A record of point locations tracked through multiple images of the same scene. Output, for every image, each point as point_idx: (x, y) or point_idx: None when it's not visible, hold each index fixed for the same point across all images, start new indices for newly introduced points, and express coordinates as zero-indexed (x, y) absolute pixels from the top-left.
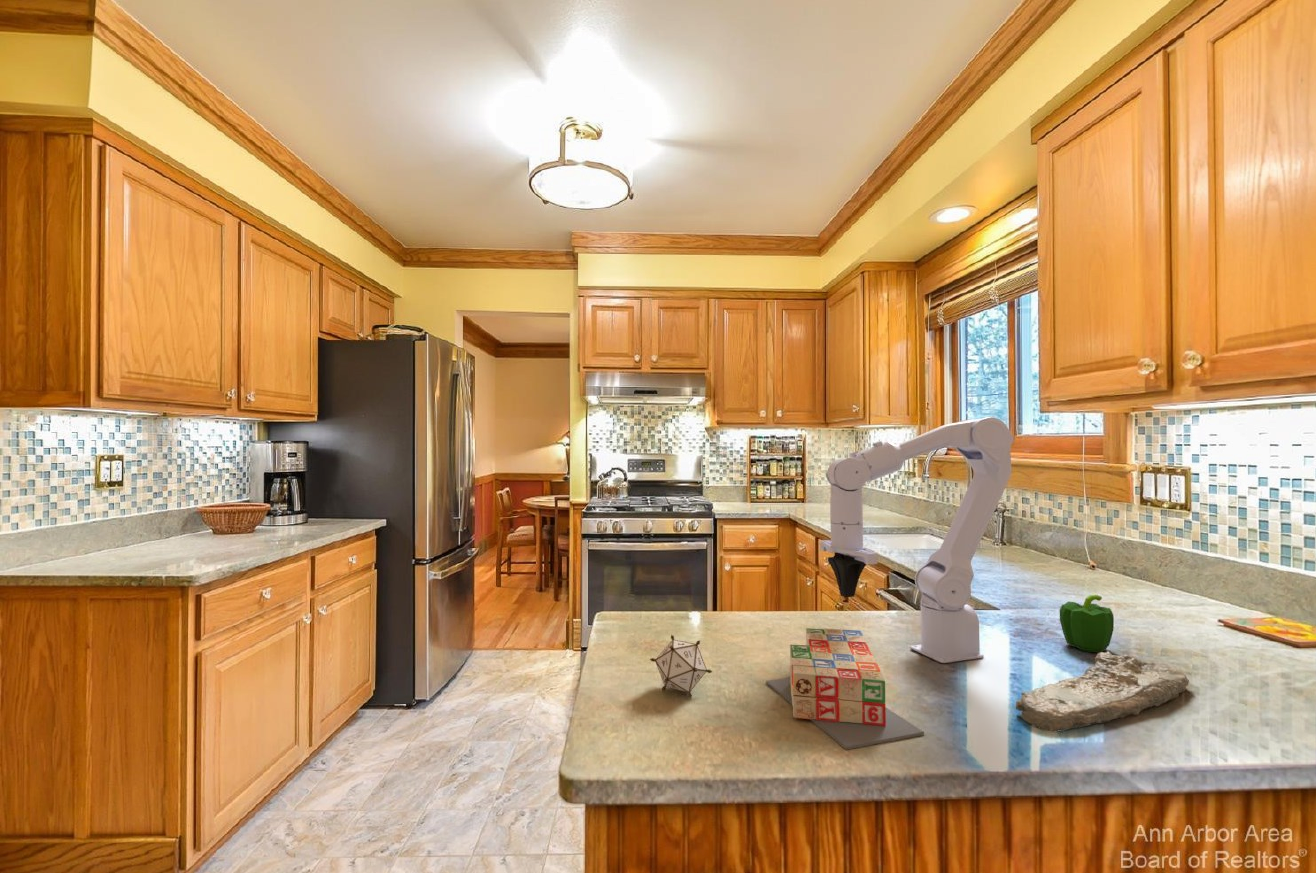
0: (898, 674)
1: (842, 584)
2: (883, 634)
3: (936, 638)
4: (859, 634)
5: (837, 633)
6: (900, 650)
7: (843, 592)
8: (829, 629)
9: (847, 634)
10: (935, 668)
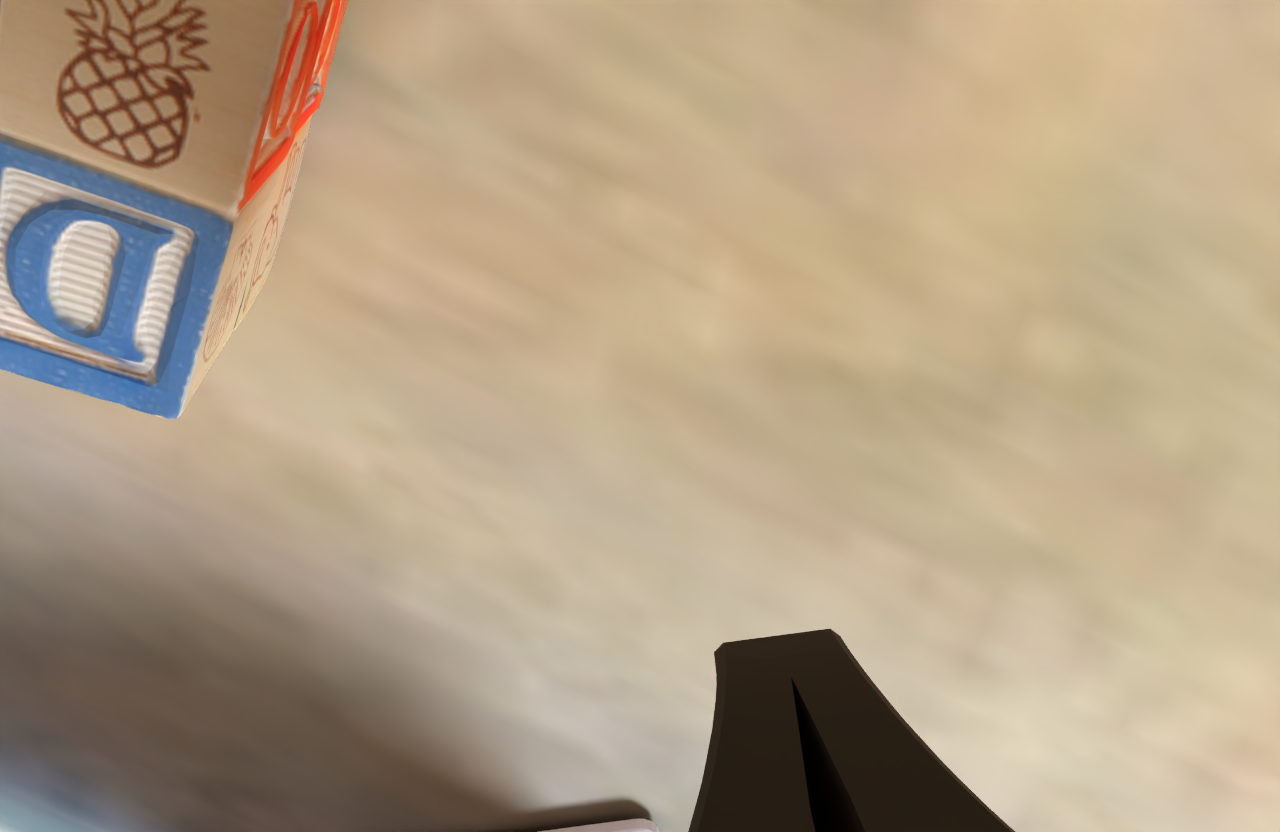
0: (149, 494)
1: (744, 765)
2: (1007, 794)
3: None
4: (25, 342)
5: (55, 68)
6: (647, 743)
7: (740, 678)
8: (246, 38)
9: (37, 196)
10: (260, 781)
